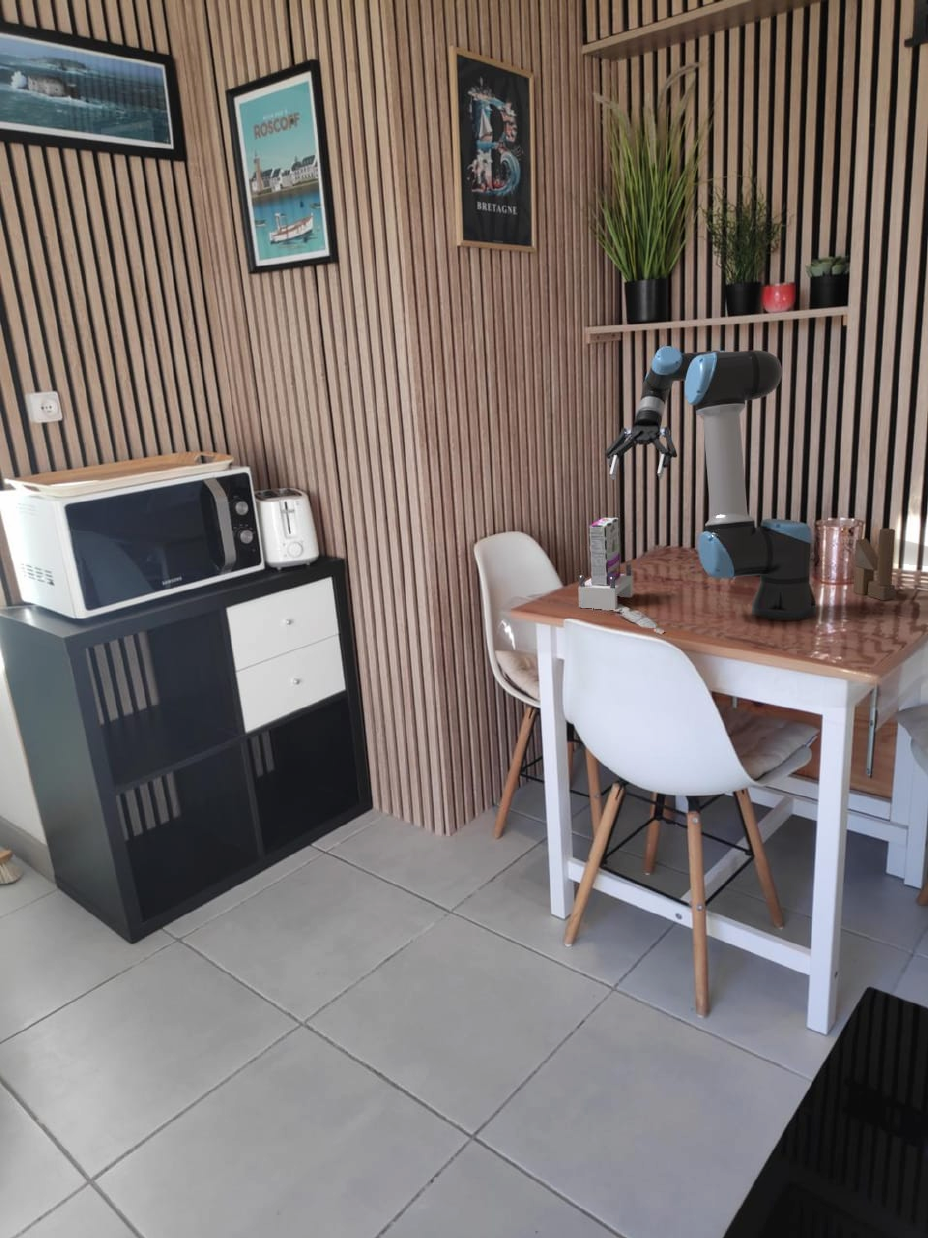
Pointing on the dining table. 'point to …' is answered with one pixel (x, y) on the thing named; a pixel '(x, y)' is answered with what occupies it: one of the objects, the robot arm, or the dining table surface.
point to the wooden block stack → (875, 567)
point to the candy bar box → (604, 551)
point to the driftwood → (637, 618)
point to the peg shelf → (605, 591)
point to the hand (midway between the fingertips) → (635, 476)
